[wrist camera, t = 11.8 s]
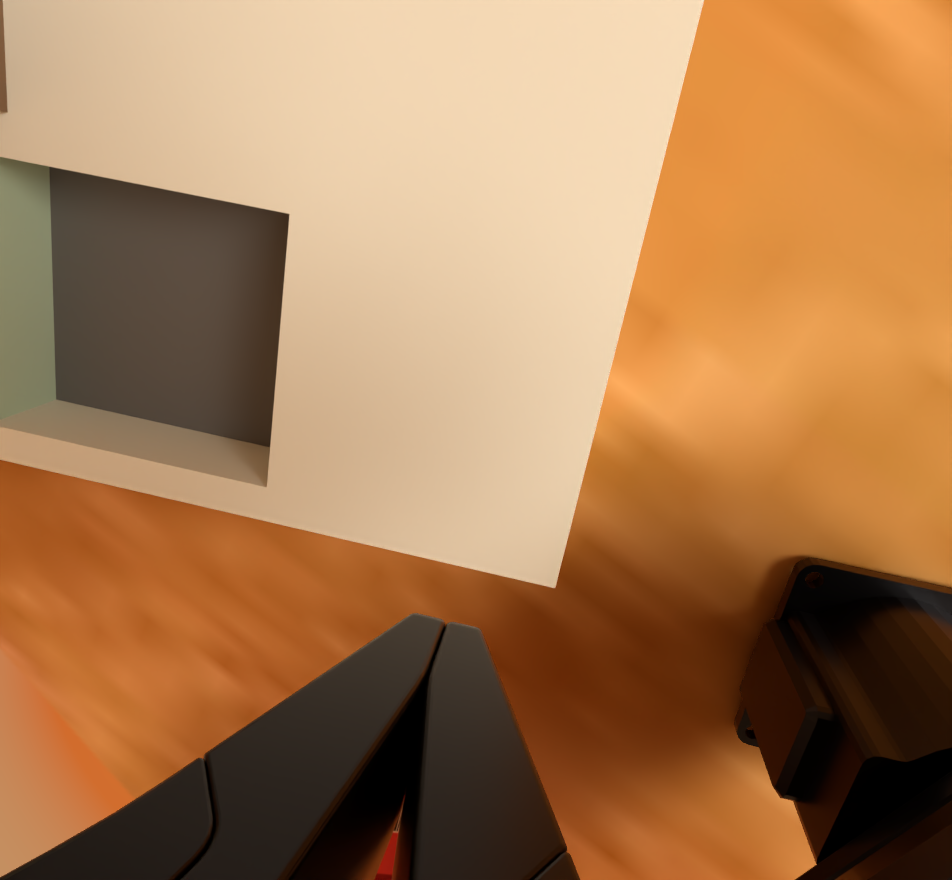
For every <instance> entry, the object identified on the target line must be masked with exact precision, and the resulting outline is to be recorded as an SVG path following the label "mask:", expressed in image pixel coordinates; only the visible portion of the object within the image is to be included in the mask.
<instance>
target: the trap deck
mask: <svg viewBox="0 0 952 880" xmlns="http://www.w3.org/2000/svg"><path fill="white" fill-rule="evenodd" d="M703 2H704V0H3V18H4V41H5V63H6V86H7V109H8V113H7V112H1V111H0V460H4V461H8V462H12V463H16V464H21V465H25V466H29V467H34V468H38V469H42V470H47V471H51V472H55V473H60V474H64V475H68V476H73V477H77V478H81V479H85V480H90V481H94V482H98V483H103V484H107V485H111V486H116V487H120V488H124V489H129V490H133V491H137V492H142V493H146V494H150V495H155V496H159V497H163V498H167V499H172V500H176V501H180V502H185V503H189V504H193V505H198V506H202V507H206V508H211V509H215V510H219V511H224V512H228V513H232V514H237V515H241V516H245V517H249V518H254V519H258V520H262V521H267V522H271V523H275V524H280V525H284V526H288V527H293V528H297V529H301V530H306V531H310V532H314V533H318V534H323V535H327V536H331V537H336V538H340V539H344V540H349V541H353V542H357V543H362V544H366V545H370V546H375V547H379V548H383V549H388V550H392V551H396V552H400V553H405V554H409V555H413V556H418V557H422V558H426V559H431V560H435V561H439V562H444V563H448V564H452V565H457V566H461V567H465V568H469V569H474V570H478V571H482V572H487V573H491V574H495V575H500V576H504V577H508V578H513V579H517V580H521V581H526V582H530V583H534V584H539V585H543V586H547V587H551V588H555V587H556V583H557V579H558V575H559V571H560V567H561V563H562V559H563V555H564V551H565V547H566V544H567V540H568V536H569V532H570V528H571V524H572V520H573V516H574V512H575V508H576V504H577V500H578V496H579V492H580V488H581V484H582V480H583V476H584V472H585V468H586V464H587V461H588V457H589V453H590V449H591V445H592V441H593V437H594V433H595V429H596V425H597V421H598V417H599V413H600V409H601V405H602V401H603V397H604V393H605V389H606V385H607V381H608V378H609V374H610V370H611V366H612V362H613V358H614V354H615V350H616V346H617V342H618V338H619V334H620V330H621V326H622V322H623V318H624V314H625V310H626V306H627V302H628V298H629V295H630V291H631V287H632V283H633V279H634V275H635V271H636V267H637V263H638V259H639V255H640V251H641V247H642V243H643V239H644V235H645V231H646V227H647V223H648V219H649V215H650V212H651V208H652V204H653V200H654V196H655V192H656V188H657V184H658V180H659V176H660V172H661V168H662V164H663V160H664V156H665V152H666V148H667V144H668V140H669V136H670V132H671V129H672V125H673V121H674V117H675V113H676V109H677V105H678V101H679V97H680V93H681V89H682V85H683V81H684V77H685V73H686V69H687V65H688V61H689V57H690V53H691V49H692V46H693V42H694V38H695V34H696V30H697V26H698V22H699V18H700V14H701V10H702V6H703Z"/></svg>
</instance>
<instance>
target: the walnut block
mask: <svg viewBox="0 0 952 880" xmlns="http://www.w3.org/2000/svg"><path fill="white" fill-rule="evenodd" d="M0 111H1V112H7V113H8V109H7V86H6V63H5V41H4V18H3V0H0Z"/></svg>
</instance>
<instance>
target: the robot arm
mask: <svg viewBox="0 0 952 880" xmlns="http://www.w3.org/2000/svg"><path fill="white" fill-rule="evenodd" d="M812 572H818V573H819V576H818V577H817V579H815V580H813V581H806V580H805V578H806V577H807V575H808V574H810V573H812ZM740 693H741V696H742V698H743V700H742V702H741V705H740V707H739V710H738V713H737V715H736V718H735V722H734V725H735V728H736V732H737V735H738V737H739V739H740V740H741V741H742V742H744V743H746V744H748V745H752V746H756V747H759V748H760V751H761V754H762V757H763V759H764V762H765V765H766V768H767V771H768V774H769V777H770V780H771V783H772V786H773V787H774V789H775V790H776V792H777V793H778V795H779V796H780V798H784V799H788V800H792V801H793V802H794V805H795V808H796V810H797V813H798V816H799V818H800V821H801V824H802V826H803V829H804V832H805V835H806V837H807V840H808V843H809V845H810V848H811V851H812V853H813V856H814V859H815V862H816V864H817V865H815V866H814V867H813V868H811V869H810V870H808V871H807V872H805V873H804V874H803V875H801V876H800V877H798V878H797V879H795V880H952V588H947V587H943V586H938V585H934V584H929V583H925V582H920V581H916V580H911V579H907V578H902V577H898V576H893V575H889V574H884V573H880V572H875V571H871V570H866V569H862V568H857V567H853V566H848V565H844V564H839V563H835V562H830V561H826V560H821V559H817V558H807V559H803V560H801V561H800V562H798V563H797V564H796V565H795V566H794V568H793V570H792V572H791V575H790V577H789V580H788V583H787V585H786V588H785V590H784V593H783V596H782V598H781V601H780V603H779V606H778V609H777V611H776V614H775V616H774V618H772V619H770V620H769V621H767V622H766V623H765V624H764V625H763V628H762V630H761V633H760V635H759V638H758V641H757V643H756V646H755V649H754V651H753V654H752V656H751V659H750V662H749V664H748V667H747V670H746V672H745V675H744V677H743V680H742V683H741V685H740ZM749 726H752V727H753V730H748V729H747V728H748V727H749ZM403 801H404V803H403ZM402 805H403V808H402ZM401 808H402V814H401V819H400V825H399V831H398V837H397V844H396V851H395V859H394V866H393V873H392V880H580V878H579V875H578V873H577V870H576V868H575V865H574V863H573V860H572V858H571V855H570V854H569V853H567V846H566V843H565V841H564V838H563V836H562V833H561V831H560V828H559V826H558V823H557V821H556V818H555V815H554V813H553V810H552V808H551V805H550V803H549V800H548V798H547V795H546V793H545V790H544V788H543V785H542V783H541V780H540V778H539V775H538V772H537V770H536V767H535V765H534V762H533V760H532V757H531V755H530V752H529V750H528V747H527V745H526V742H525V740H524V737H523V734H522V732H521V729H520V727H519V724H518V722H517V719H516V717H515V714H514V712H513V709H512V707H511V704H510V702H509V699H508V697H507V694H506V691H505V689H504V686H503V684H502V681H501V679H500V676H499V674H498V671H497V669H496V666H495V664H494V661H493V659H492V656H491V653H490V651H489V648H488V646H487V643H486V641H485V638H484V636H483V633H482V631H481V630H480V629H479V628H477V627H473V626H469V625H464V624H460V623H456V622H450V623H448V624H447V625H446V627H445V622H444V621H443V620H442V619H439V618H435V617H430V616H426V615H422V614H418V613H413V614H411V615H409V616H408V617H406V618H405V619H403V620H402V621H400V622H399V623H397V624H396V625H394V626H393V627H391V628H390V629H388V630H387V631H385V632H384V633H382V634H381V635H379V636H378V637H377V638H375V639H374V640H372V641H371V642H369V643H368V644H366V645H365V646H363V647H362V648H360V649H359V650H357V651H356V652H354V653H353V654H351V655H350V656H348V657H347V658H346V659H344V660H343V661H341V662H340V663H338V664H337V665H335V666H334V667H332V668H331V669H329V670H328V671H326V672H325V673H323V674H322V675H320V676H319V677H317V678H316V679H315V680H313V681H312V682H310V683H309V684H307V685H306V686H304V687H303V688H301V689H300V690H298V691H297V692H295V693H294V694H292V695H291V696H289V697H288V698H286V699H285V700H284V701H282V702H281V703H279V704H278V705H276V706H275V707H273V708H272V709H270V710H269V711H267V712H266V713H264V714H263V715H261V716H260V717H258V718H257V719H255V720H254V721H252V722H251V723H250V724H248V725H247V726H245V727H244V728H242V729H241V730H239V731H238V732H236V733H235V734H233V735H232V736H230V737H229V738H227V739H226V740H224V741H223V742H221V743H220V744H219V745H217V746H216V747H214V748H213V749H211V750H210V751H208V752H207V753H206V754H205V755H204V759H203V758H197V759H196V760H194V761H193V762H191V763H190V764H188V765H187V766H185V767H184V768H183V769H181V770H180V771H178V772H177V773H175V774H174V775H172V776H171V777H169V778H168V779H166V780H165V781H163V782H162V783H160V784H158V785H157V786H155V787H154V788H152V789H151V790H149V791H147V792H146V793H144V794H143V795H141V796H140V797H138V798H137V799H135V800H133V801H132V802H130V803H129V804H127V805H126V806H124V807H122V808H121V809H119V810H118V811H116V812H115V813H113V814H111V815H109V816H108V817H106V818H104V819H103V820H101V821H99V822H97V823H96V824H94V825H92V826H90V827H89V828H87V829H85V830H84V831H82V832H80V833H78V834H77V835H75V836H73V837H71V838H70V839H68V840H66V841H65V842H63V843H61V844H59V845H58V846H56V847H54V848H52V849H51V850H49V851H47V852H45V853H44V854H42V855H40V856H38V857H36V858H35V859H33V860H31V861H29V862H27V863H25V864H23V865H22V866H20V867H18V868H16V869H15V870H13V871H11V872H9V873H7V874H6V875H4V876H2V877H0V880H374V879H375V877H376V874H377V872H378V869H379V866H380V864H381V861H382V859H383V856H384V854H385V851H386V849H387V846H388V844H389V841H390V839H391V836H392V834H393V831H394V828H395V825H396V823H397V820H398V817H399V815H400V811H401Z"/></svg>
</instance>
